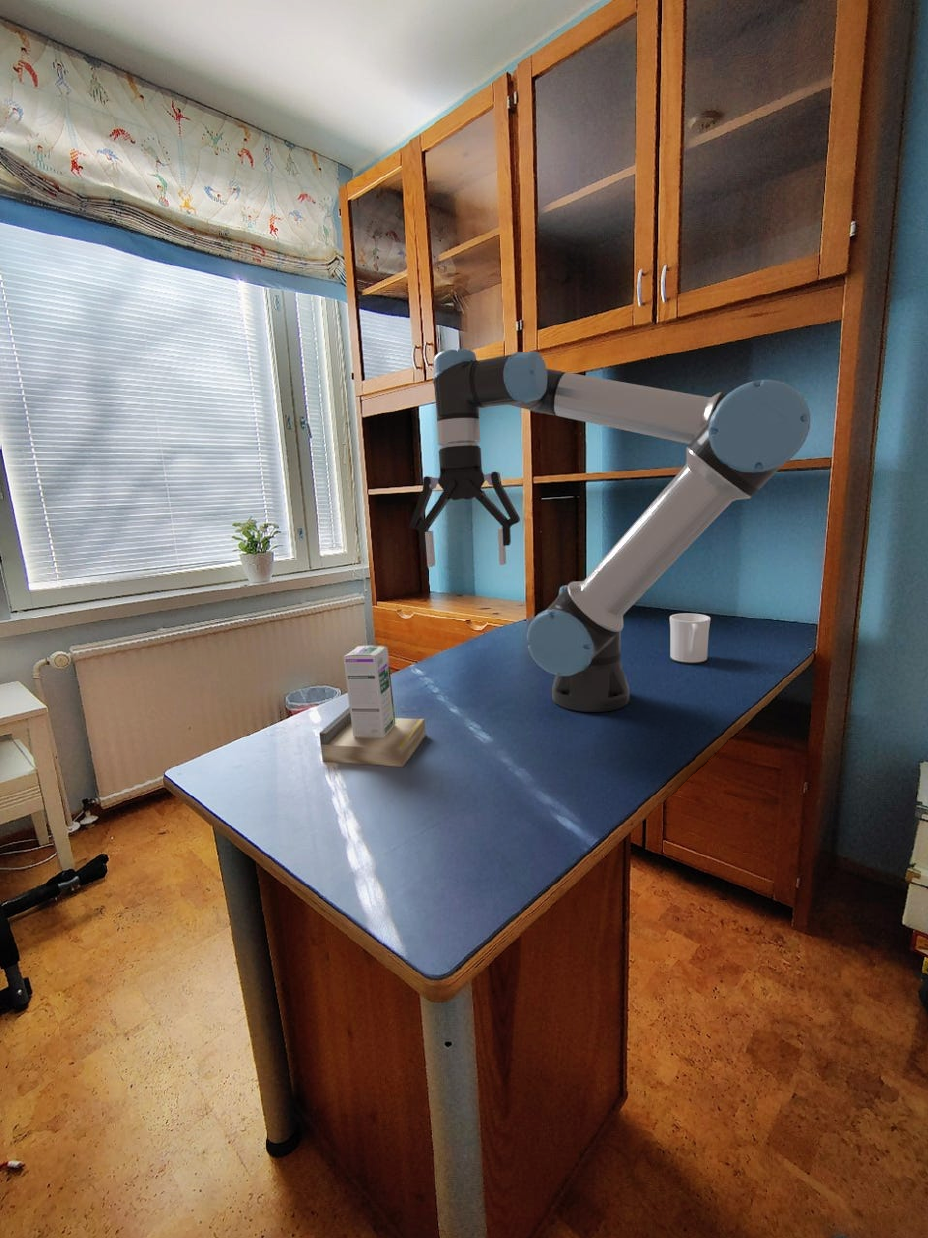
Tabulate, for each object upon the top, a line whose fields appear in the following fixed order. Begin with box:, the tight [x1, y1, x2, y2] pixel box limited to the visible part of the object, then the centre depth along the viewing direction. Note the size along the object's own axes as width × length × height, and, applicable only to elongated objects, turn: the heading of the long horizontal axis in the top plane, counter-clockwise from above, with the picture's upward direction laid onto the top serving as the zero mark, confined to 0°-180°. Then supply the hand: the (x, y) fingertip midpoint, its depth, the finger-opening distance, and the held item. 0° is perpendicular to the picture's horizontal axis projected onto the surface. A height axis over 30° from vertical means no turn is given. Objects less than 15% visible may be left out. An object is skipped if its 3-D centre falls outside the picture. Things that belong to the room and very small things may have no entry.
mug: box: [669, 612, 711, 666], centre depth 134 cm, size 11×9×10 cm
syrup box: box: [343, 644, 396, 739], centre depth 96 cm, size 6×6×14 cm
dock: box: [319, 706, 427, 768], centre depth 98 cm, size 14×12×5 cm
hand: (466, 565), depth 106 cm, fingers open, 13 cm apart
